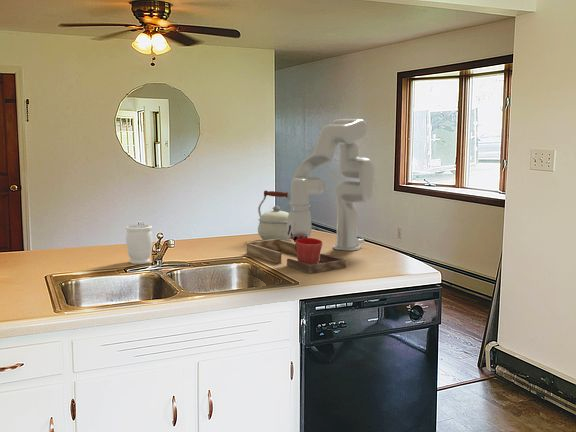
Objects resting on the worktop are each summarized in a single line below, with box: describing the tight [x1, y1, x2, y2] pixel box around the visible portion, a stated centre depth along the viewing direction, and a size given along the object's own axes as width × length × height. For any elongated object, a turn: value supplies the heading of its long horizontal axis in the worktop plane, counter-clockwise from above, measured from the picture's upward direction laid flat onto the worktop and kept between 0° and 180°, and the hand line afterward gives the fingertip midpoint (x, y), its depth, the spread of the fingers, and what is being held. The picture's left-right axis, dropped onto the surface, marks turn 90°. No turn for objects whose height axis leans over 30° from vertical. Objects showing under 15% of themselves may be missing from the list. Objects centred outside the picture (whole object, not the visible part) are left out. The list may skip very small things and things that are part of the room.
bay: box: [286, 253, 347, 274], centre depth 239 cm, size 18×15×3 cm
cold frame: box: [245, 239, 297, 264], centre depth 259 cm, size 18×25×5 cm
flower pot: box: [295, 237, 323, 265], centre depth 242 cm, size 11×11×10 cm
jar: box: [125, 224, 154, 265], centre depth 243 cm, size 11×10×15 cm
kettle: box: [257, 190, 292, 242], centre depth 292 cm, size 25×18×25 cm
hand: (299, 251), depth 247 cm, fingers closed
